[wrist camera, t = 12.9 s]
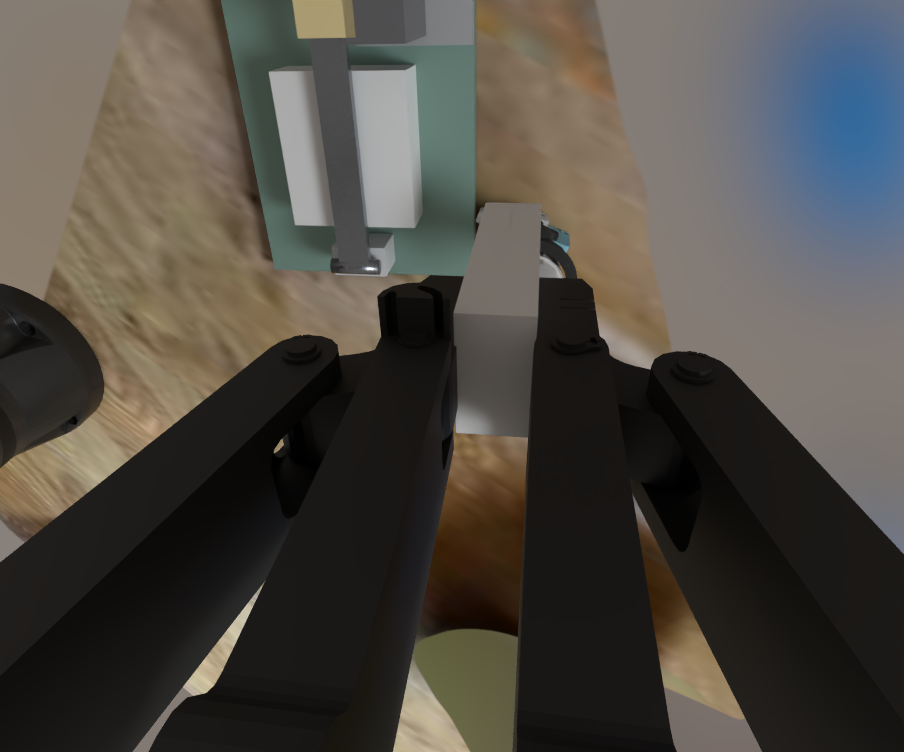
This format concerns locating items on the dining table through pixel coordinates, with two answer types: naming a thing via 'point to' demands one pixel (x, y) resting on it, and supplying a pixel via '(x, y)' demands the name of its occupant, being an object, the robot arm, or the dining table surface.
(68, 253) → the dining table surface
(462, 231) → the board
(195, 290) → the dining table surface
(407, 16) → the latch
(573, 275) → the push button
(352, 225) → the strap
